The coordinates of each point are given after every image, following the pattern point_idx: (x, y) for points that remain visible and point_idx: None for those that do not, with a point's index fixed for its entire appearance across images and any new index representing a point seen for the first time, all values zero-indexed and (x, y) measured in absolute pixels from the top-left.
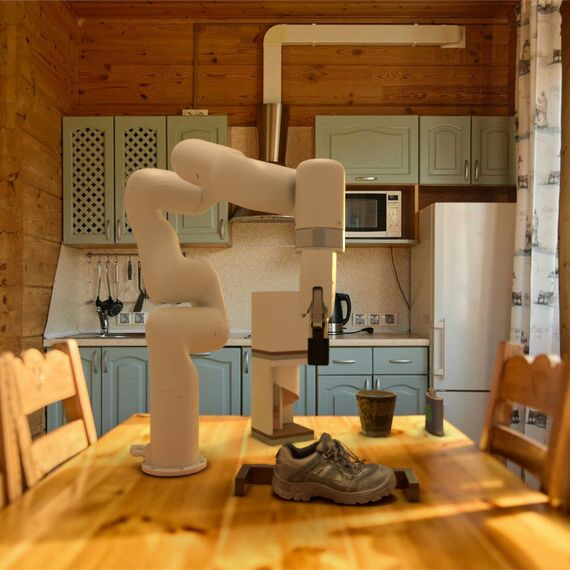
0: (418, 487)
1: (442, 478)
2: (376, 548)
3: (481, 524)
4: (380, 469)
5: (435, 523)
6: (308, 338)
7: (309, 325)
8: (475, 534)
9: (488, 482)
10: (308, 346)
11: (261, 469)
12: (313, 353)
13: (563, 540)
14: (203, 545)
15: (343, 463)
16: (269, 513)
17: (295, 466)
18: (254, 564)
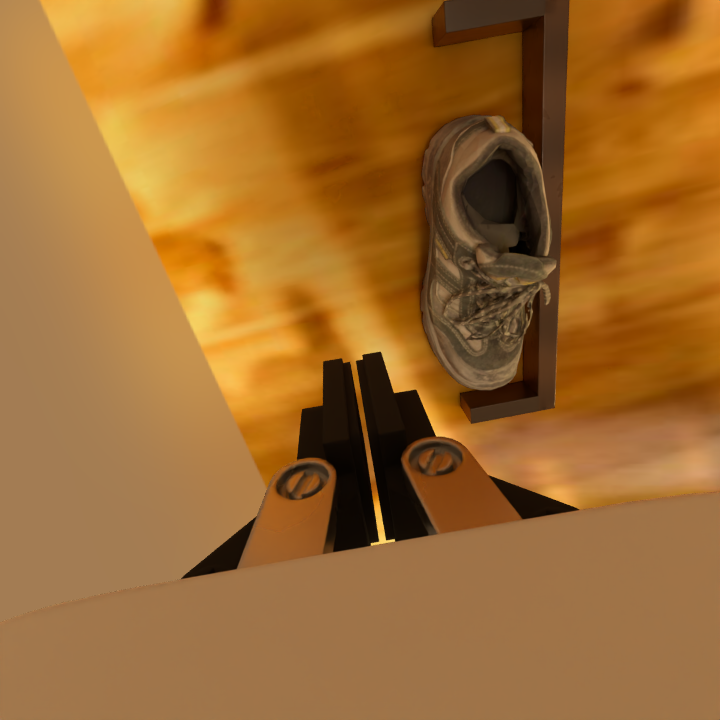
0: (469, 419)
1: (579, 435)
2: (264, 364)
3: None
4: (476, 373)
5: None
6: (337, 445)
7: (240, 561)
8: None
9: (563, 495)
10: (323, 416)
11: (540, 58)
12: (301, 427)
13: None
14: (153, 52)
15: (479, 302)
16: (348, 148)
17: (442, 191)
18: (131, 189)
